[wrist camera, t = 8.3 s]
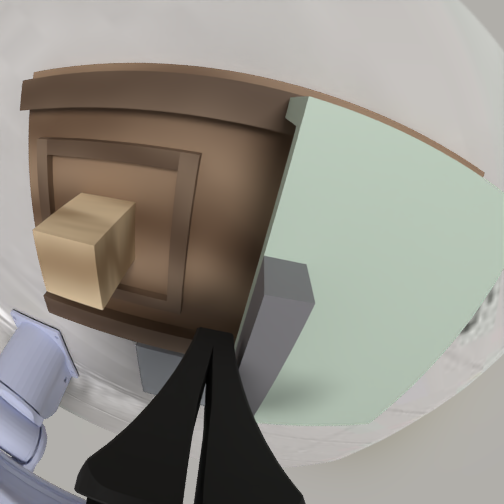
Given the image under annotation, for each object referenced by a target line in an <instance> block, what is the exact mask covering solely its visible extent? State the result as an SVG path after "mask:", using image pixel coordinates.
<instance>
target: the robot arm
mask: <svg viewBox="0 0 504 504" xmlns="http://www.w3.org/2000/svg"><path fill="white" fill-rule="evenodd" d="M11 315H12V317H13V320H14V322H15V324H16V326H17V330H16V331H15V333H14V334H13V336H12V337H11V339H10V340H9V342H8V343H7V345H6V346H5V348H4V349H3V351H2V353H1V354H0V449H2V450H3V451H5V452H6V453H8V454H9V455H10V456H12V457H10V456H8V455H7V454H5V453H4V452H3V451H1V450H0V504H183V498H184V489H185V482H186V475H187V467H188V460H189V454H190V447H191V441H192V435H193V430H194V426H195V422H196V418H197V414H198V411H199V407H200V403H201V399H202V395H203V392H204V388H205V384H206V389H205V408H204V430H203V440H202V448H201V455H200V462H199V470H198V477H197V484H196V492H195V499H194V504H305V501H304V498H303V495H302V494H301V492H300V491H299V490H298V489H297V488H296V486H295V485H294V484H293V483H292V481H291V480H290V479H289V477H288V476H287V475H286V473H285V472H284V470H283V469H282V467H281V466H280V464H279V463H278V461H277V460H276V458H275V456H274V455H273V453H272V451H271V450H270V448H269V446H268V445H267V443H266V441H265V439H264V437H263V435H262V433H261V431H260V429H259V427H258V425H257V423H256V420H255V418H254V416H253V413H252V411H251V408H250V406H249V403H248V400H247V397H246V394H245V391H244V388H243V385H242V381H241V377H240V374H239V370H238V365H237V360H236V355H235V348H234V335H233V334H232V333H229V332H223V331H218V330H213V329H208V328H203V327H199V328H197V329H196V332H195V335H194V337H193V339H192V342H191V344H190V346H189V347H188V349H187V351H186V353H185V355H184V356H183V358H182V360H181V361H180V363H179V364H178V366H177V368H176V369H175V371H174V372H173V374H172V375H171V376H170V378H169V379H168V380H167V382H166V383H165V385H164V386H163V387H162V389H161V390H160V391H159V392H158V394H157V395H156V396H155V397H154V399H153V400H152V401H151V402H150V403H149V404H148V406H147V407H146V408H145V409H144V410H143V411H142V412H141V413H140V414H139V415H138V416H137V417H136V418H135V419H134V420H133V421H132V422H131V423H130V424H129V425H128V426H127V427H126V428H125V429H124V430H123V431H122V432H121V433H119V434H118V435H117V436H116V437H115V438H114V439H113V440H112V441H110V442H109V443H108V444H107V445H105V446H104V447H103V448H101V449H100V450H99V451H97V452H96V453H94V454H93V455H92V456H91V457H89V458H88V459H87V460H86V462H85V463H84V465H83V466H82V468H81V470H80V472H79V474H78V476H77V480H76V484H75V488H74V489H75V491H76V492H77V493H79V494H81V495H84V496H86V497H87V500H85V499H82V498H80V497H78V496H76V495H74V494H71V493H69V492H67V491H65V490H63V489H61V488H59V487H57V486H55V485H53V484H52V483H50V482H48V481H46V480H44V479H43V478H41V477H39V476H37V475H36V474H34V473H33V471H34V468H35V466H36V465H37V463H38V462H39V461H40V460H41V458H42V456H43V454H44V451H45V448H46V444H47V434H46V429H45V426H44V425H43V424H42V422H43V420H44V419H46V418H49V417H50V416H52V415H53V414H54V413H55V412H56V410H57V409H58V406H59V404H60V401H61V399H62V397H63V395H64V392H65V390H66V388H67V386H68V383H69V381H70V379H71V377H74V378H78V376H79V375H78V373H77V371H76V369H75V367H74V365H73V363H72V360H71V358H70V356H69V354H68V351H67V349H66V347H65V344H64V342H63V339H62V337H61V334H60V332H59V331H58V330H56V329H54V328H51V327H49V326H47V325H44V324H42V323H40V322H38V321H35V320H33V319H31V318H29V317H27V316H25V315H22V314H20V313H18V312H16V311H14V310H12V311H11Z"/></svg>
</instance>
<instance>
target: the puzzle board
mask: <svg viewBox="0 0 504 504" xmlns="http://www.w3.org/2000/svg"><path fill="white" fill-rule="evenodd" d="M304 96H310V97H313V98H317V99H320V100H323V101H326V102H329V103H332V104H335V105H338V106H341V107H344V108H346V109H349V110H352V111H355V112H357V113H360V114H362V115H365V116H367V117H370V118H372V119H375V120H377V121H380V122H382V123H384V124H387V125H389V126H391V127H393V128H395V129H398V130H400V131H402V132H404V133H406V134H408V135H410V136H412V137H414V138H416V139H418V140H420V141H422V142H424V143H426V144H428V145H430V146H432V147H434V148H435V149H437V150H439V151H441V152H443V153H444V154H446V155H448V156H450V157H451V158H453V159H455V160H456V161H458V162H460V163H461V164H463V165H464V166H466V167H468V168H469V169H471V170H472V171H474V172H475V173H477V174H478V175H480V176H481V177H483V176H484V172H483V171H481V170H480V169H478V168H477V167H475V166H474V165H472V164H471V163H469V162H468V161H466V160H465V159H463V158H462V157H460V156H458V155H457V154H455V153H454V152H452V151H450V150H449V149H447V148H445V147H443V146H442V145H440V144H438V143H436V142H435V141H433V140H431V139H429V138H427V137H425V136H424V135H422V134H420V133H418V132H416V131H414V130H412V129H410V128H408V127H406V126H404V125H402V124H400V123H397V122H395V121H393V120H391V119H389V118H387V117H384V116H382V115H380V114H377V113H375V112H373V111H370V110H368V109H365V108H363V107H360V106H358V105H355V104H352V103H350V102H347V101H344V100H341V99H339V98H336V97H333V96H330V95H327V94H324V93H320V92H317V91H314V90H311V89H307V88H304V87H300V86H297V85H293V84H289V83H285V82H282V81H277V80H273V79H269V78H264V77H260V76H255V75H250V74H245V73H239V72H234V71H227V70H221V69H214V68H206V67H198V66H188V65H176V64H158V63H109V64H93V65H81V66H72V67H64V68H57V69H50V70H44V71H39V72H34V75H33V79H29V80H24V81H23V84H22V93H21V104H20V111H21V110H30V114H29V173H30V187H31V197H32V206H33V214H34V221H35V227H37V226H38V225H39V224H40V223H42V222H43V221H44V220H45V219H47V218H48V217H49V216H51V215H52V214H53V213H54V212H56V211H57V210H58V209H60V208H61V207H62V206H64V205H65V204H66V203H68V202H69V201H70V200H72V199H73V198H75V197H76V196H77V195H79V194H80V193H85V194H91V195H97V196H103V197H109V198H115V199H120V200H126V201H131V202H136V207H135V259H134V261H133V263H132V264H131V266H130V267H129V269H128V270H127V272H126V273H125V275H124V277H123V278H122V280H121V281H120V283H119V285H118V286H117V288H116V289H115V291H114V293H113V294H112V296H111V298H110V299H109V301H108V303H107V305H106V306H105V308H104V310H100V309H97V308H94V307H91V306H88V305H85V304H82V303H79V302H76V301H73V300H70V299H67V298H64V297H61V296H59V295H56V294H53V293H50V292H48V291H47V292H46V293H45V294H44V299H45V302H46V305H47V308H48V311H49V312H50V313H52V314H55V315H57V316H60V317H63V318H65V319H68V320H71V321H73V322H76V323H79V324H82V325H84V326H87V327H90V328H93V329H96V330H99V331H102V332H105V333H109V334H112V335H115V336H118V337H122V338H125V339H128V340H132V341H135V342H139V343H143V344H146V345H150V346H154V347H158V348H162V349H166V350H170V351H174V352H179V353H183V354H185V353H186V351H187V349H188V347H189V346H190V344H191V342H192V339H193V337H194V335H195V332H196V329H197V328H199V327H203V328H208V329H213V330H218V331H223V332H229V333H232V334H233V335H234V345H235V341H236V338H237V335H238V331H239V328H240V324H241V321H242V317H243V314H244V311H245V307H246V304H247V300H248V297H249V293H250V290H251V286H252V283H253V279H254V276H255V273H256V269H257V266H258V262H259V259H260V255H261V252H262V248H263V245H264V241H265V238H266V234H267V230H268V227H269V223H270V220H271V216H272V213H273V209H274V206H275V202H276V199H277V195H278V191H279V188H280V184H281V181H282V177H283V173H284V170H285V166H286V163H287V159H288V155H289V152H290V148H291V144H292V141H293V137H294V134H295V130H296V125H294V124H293V123H292V122H290V121H289V120H287V119H286V118H285V116H286V113H287V109H288V105H289V101H290V97H304Z"/></svg>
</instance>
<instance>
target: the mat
mask: <svg viewBox="0 0 504 504" xmlns="http://www.w3.org/2000/svg"><path fill="white" fill-rule="evenodd" d="M136 350H137V357H138V363H139V369H140V375H141V381H142V386H143V391H144V392H147V393H150V394H154V395H157V394H158V392H159V391H160V390H161V389H162V387H163V386H164V385H165V383H166V382H167V380H168V379H169V378H170V376H171V375H172V374H173V372H174V371H175V369H176V368H177V366H178V364H179V363H180V361H181V360H182V358H183V356H184V355H185V354H183V353H179V352H174V351H170V350H166V349H162V348H158V347H154V346H150V345H146V344H143V343H139V342H137V344H136ZM205 389H206V384H205V388H204V392H203V395H202V399H201V403H200V405H203V406H205Z"/></svg>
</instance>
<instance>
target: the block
mask: <svg viewBox="0 0 504 504" xmlns="http://www.w3.org/2000/svg"><path fill="white" fill-rule="evenodd" d="M135 207H136V202H131V201H126V200H120V199H115V198H109V197H103V196H97V195H91V194H85V193H80V194H79V195H77V196H76V197H75V198H73V199H72V200H70V201H69V202H68V203H66V204H65V205H64V206H62V207H61V208H60V209H58V210H57V211H56V212H54V213H53V214H52V215H51V216H49V217H48V218H47V219H45V220H44V221H43V222H42V223H40V224H39V225H38V226H37V227H36V228H34V229H33V235H34V240H35V245H36V250H37V255H38V259H39V263H40V267H41V271H42V275H43V279H44V283H45V286H46V290H47V291H48V292H50V293H53V294H56V295H59V296H61V297H64V298H67V299H70V300H73V301H76V302H79V303H82V304H85V305H88V306H91V307H94V308H97V309H100V310H104V308H105V306H106V305H107V303H108V301H109V299H110V298H111V296H112V294H113V293H114V291H115V289H116V288H117V286H118V285H119V283H120V281H121V280H122V278H123V277H124V275H125V273H126V272H127V270H128V269H129V267H130V266H131V264H132V263H133V261H134V259H135Z"/></svg>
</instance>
